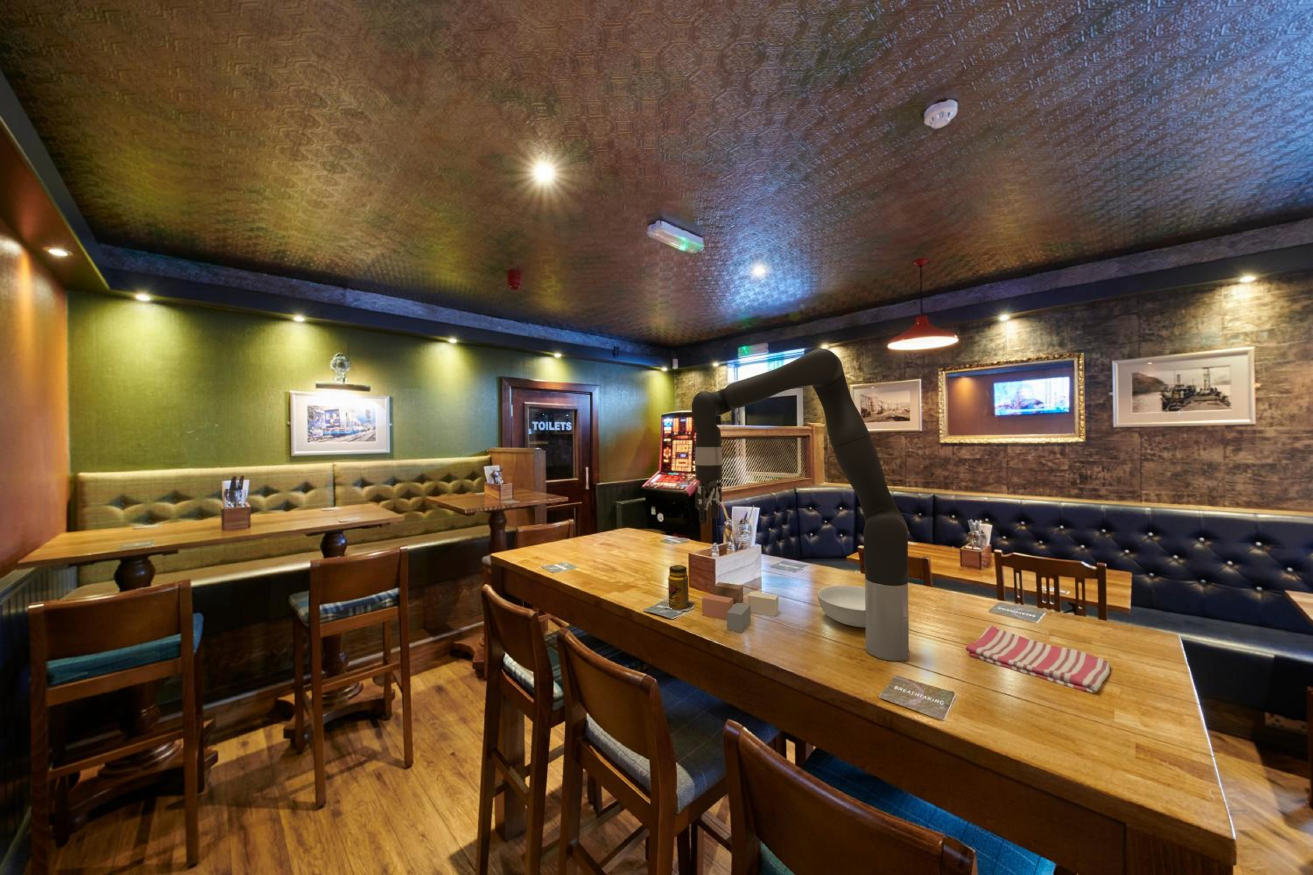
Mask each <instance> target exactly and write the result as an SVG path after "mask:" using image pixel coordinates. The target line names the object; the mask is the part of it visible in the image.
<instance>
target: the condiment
mask: <svg viewBox="0 0 1313 875" xmlns="http://www.w3.org/2000/svg"><path fill="white" fill-rule="evenodd" d="M687 570H688V568H687V566H685V565H681V564H676V565H671V566H670V567H669V573H668V578H667V581H668V589H667V590H668V604H669V607H670V608H672V610H673V609H674V610H673V611H684V612H688V611H689V610H690V609H691V608H692V606H693V605H694V604H695V602H696V601H695V600H692V601H691V600H689V576H688V571H687ZM668 604H667V605H666V606H668Z"/></svg>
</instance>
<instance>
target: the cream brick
mask: <svg viewBox="0 0 1313 875" xmlns="http://www.w3.org/2000/svg"><path fill="white" fill-rule="evenodd" d="M779 597H780V596H779V595H777V594H773V593H766V592H759V591H750V593H748V595H747V604H748V605H751V614H756V615H762V616H763V615H764V616H769V617H774V618H775V617H777V615H778V614H779V612H780V610H779V608H780V607H779V605H780V603H779V602H780V601H779Z"/></svg>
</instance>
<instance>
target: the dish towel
mask: <svg viewBox="0 0 1313 875" xmlns="http://www.w3.org/2000/svg"><path fill="white" fill-rule="evenodd" d="M965 651H966V652H969V653H968V656H969V657H970V658H974V659H979V660H980V661H983V662H986V663H988V664H992V665H995V666H999V667H1002V668H1005V669H1008V670H1009V669H1010V670H1012V671H1015V672H1019V673H1020V674H1025V675H1027V676H1031V677H1034V678H1038V679H1042V680H1045V681H1046V682H1047V681H1048V682H1050V683H1054V684H1057V685H1060V686H1063V687H1067V688H1070V689H1073V690H1077V691H1082V692H1087V693H1090V694H1095V693H1097V692H1098V691H1099V690H1100V688H1101V686H1102V684H1103V682H1105V681H1106V679H1107V678H1108V676H1109V675H1110V672H1111V670H1110V669H1111V668H1112V666H1111V662H1108V661H1107V660H1106V659H1103V658H1102V657H1099V656H1094V655H1091V654H1090V653H1087V652H1083V651H1079V650H1077V649H1073V648H1068V647H1059V646H1056V645H1052V644H1047V643H1044V642H1041V641H1036V640H1034V639H1029V638H1026V637H1023V636H1021V635H1020V634H1016V633H1013V632H1010V631H1006V630H1003V629H999V628H998V627H996V626H994V625H991V624H990V625H989V626H987V627H986V629H985V630H984V632H983V633H982V635H981V636H980V637H979V638H977V640H975V641H974V642H973V641H972V642H970V643H968V644H967V645H966V647H965Z"/></svg>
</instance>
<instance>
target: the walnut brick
mask: <svg viewBox="0 0 1313 875" xmlns="http://www.w3.org/2000/svg"><path fill="white" fill-rule="evenodd" d="M713 590H714V591H713V595H717V596H723V597H729V598H733V606H734V605H735V604H736V603H742V604H743V603H744V585H741V584H734V583H729V582H721V581H718V582H716V583H715V584H714V586H713Z"/></svg>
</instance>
